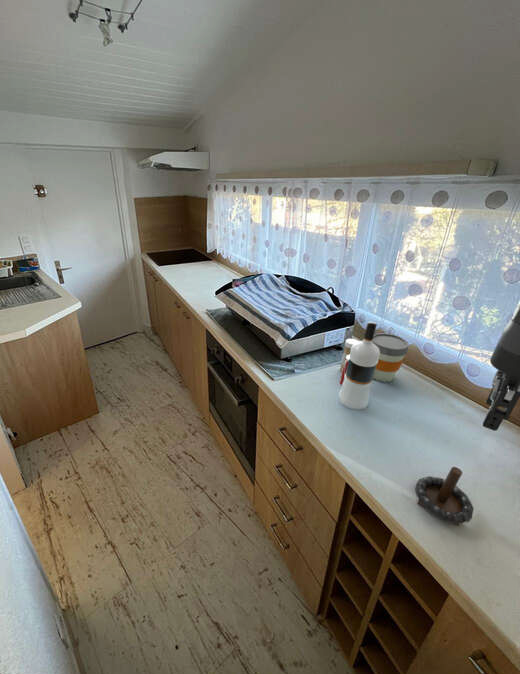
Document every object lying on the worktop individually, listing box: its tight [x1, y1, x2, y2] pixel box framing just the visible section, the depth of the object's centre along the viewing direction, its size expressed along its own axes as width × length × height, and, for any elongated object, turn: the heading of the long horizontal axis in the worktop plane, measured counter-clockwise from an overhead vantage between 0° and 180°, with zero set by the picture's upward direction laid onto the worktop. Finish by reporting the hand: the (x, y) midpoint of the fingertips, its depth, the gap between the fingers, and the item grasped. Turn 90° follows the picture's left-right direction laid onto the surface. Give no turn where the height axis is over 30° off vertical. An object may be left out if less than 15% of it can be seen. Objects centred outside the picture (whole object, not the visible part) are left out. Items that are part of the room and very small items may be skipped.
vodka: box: [338, 321, 380, 410], centre depth 97 cm, size 9×9×30 cm
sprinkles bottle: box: [339, 338, 359, 373], centre depth 117 cm, size 5×5×14 cm
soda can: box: [339, 355, 349, 387], centre depth 109 cm, size 5×5×12 cm
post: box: [417, 466, 463, 527], centre depth 70 cm, size 8×8×11 cm
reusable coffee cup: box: [372, 332, 409, 382], centre depth 114 cm, size 13×13×15 cm
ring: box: [414, 475, 474, 525], centre depth 71 cm, size 11×11×2 cm
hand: (490, 415), depth 62 cm, fingers open, 8 cm apart
